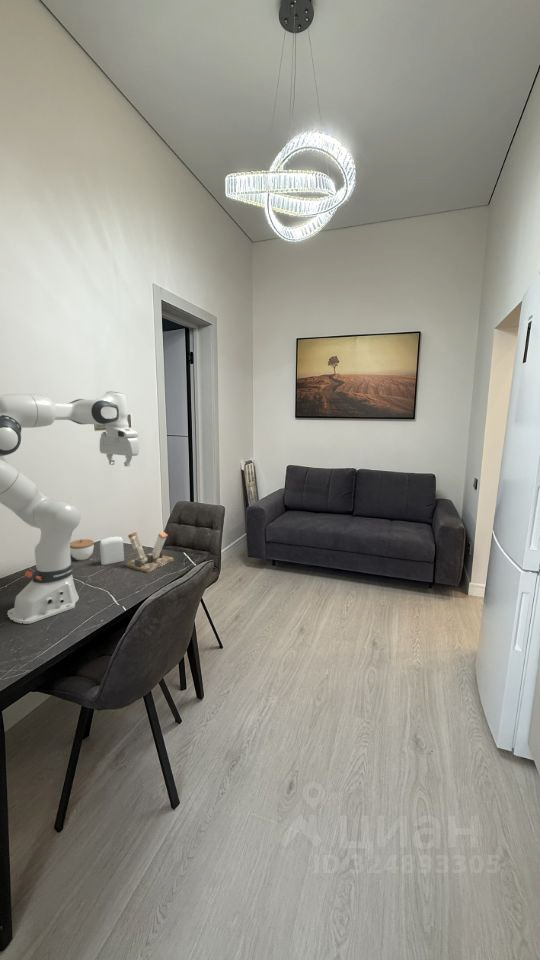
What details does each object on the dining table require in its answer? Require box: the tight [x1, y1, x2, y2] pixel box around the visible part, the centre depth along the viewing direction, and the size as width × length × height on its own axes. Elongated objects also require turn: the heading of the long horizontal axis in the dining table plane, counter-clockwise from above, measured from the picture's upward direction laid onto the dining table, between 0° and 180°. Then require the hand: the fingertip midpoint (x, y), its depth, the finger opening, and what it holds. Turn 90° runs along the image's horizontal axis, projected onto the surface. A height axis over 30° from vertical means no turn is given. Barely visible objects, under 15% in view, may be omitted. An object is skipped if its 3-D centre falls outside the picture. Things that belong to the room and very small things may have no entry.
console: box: [125, 532, 174, 573], centre depth 177 cm, size 16×14×16 cm
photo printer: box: [99, 536, 125, 566], centre depth 178 cm, size 10×4×12 cm, turn 124°
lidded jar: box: [70, 538, 95, 561], centre depth 183 cm, size 11×11×9 cm
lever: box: [150, 531, 168, 559], centre depth 177 cm, size 4×3×15 cm, turn 150°
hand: (119, 465), depth 159 cm, fingers open, 8 cm apart
